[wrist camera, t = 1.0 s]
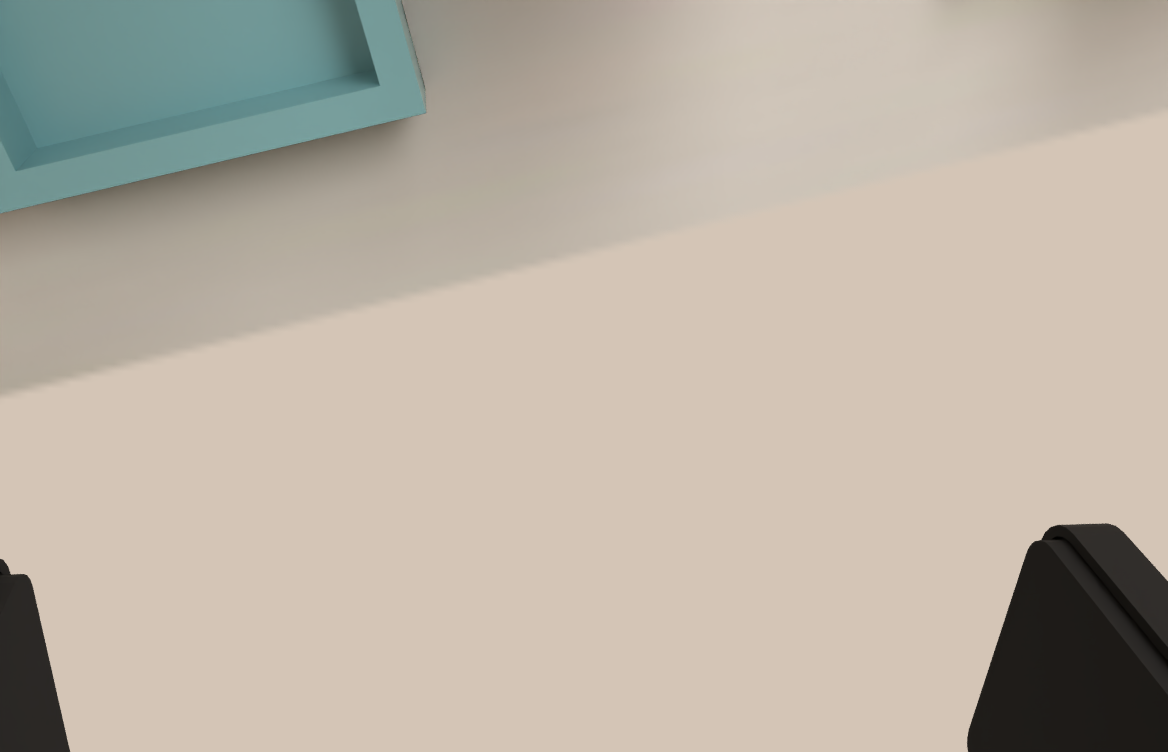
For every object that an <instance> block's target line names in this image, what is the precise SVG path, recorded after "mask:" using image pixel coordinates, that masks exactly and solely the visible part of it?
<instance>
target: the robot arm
mask: <svg viewBox="0 0 1168 752" xmlns="http://www.w3.org/2000/svg"><path fill="white" fill-rule="evenodd" d="M967 747H968V752H1168V581H1167V580H1166V579H1165V578H1164V577H1163V576H1162V574H1161V573H1160V572H1159V571H1158V570H1157V569H1156V568H1155V567H1154V566H1153V564H1151V562H1150V561H1149V560H1148V559H1147V558H1146V557H1145V556H1144V554H1143V553H1142V552H1141V551H1140V550H1139V549H1138V548H1137V547H1136V546H1135V545H1134V543H1133V542H1132V541H1131V540H1130V539H1129V538H1128V537H1127V536H1126V534H1124V532H1123V531H1121V530H1120V529H1119V528H1118V527H1116V526H1114V525H1111V524H1079V525H1078V524H1077V525H1057V526H1053V527H1051V528H1049V530H1047V531H1046V532H1045V534H1044V536H1043V538H1042V540H1040V541H1035V542H1033V543H1032V544H1031V546H1030V547H1029V549H1028V551H1027V554H1026V556H1025V560H1024V562H1023V565H1022V569H1021V572H1020V575H1019V578H1018V581H1017V584H1016V587H1015V590H1014V593H1013V596H1012V599H1011V602H1010V605H1009V608H1008V611H1007V614H1006V618H1005V621H1004V624H1003V627H1002V630H1001V633H1000V636H999V639H998V642H997V645H996V648H995V651H994V655H993V657H992V661H991V663H990V667H989V670H988V673H987V676H986V679H985V682H984V685H983V688H982V691H981V694H980V697H979V700H978V703H977V707H976V709H975V713H974V716H973V719H972V722H971V725H970V728H969V732H968V737H967ZM0 752H70V749H69V745H68V741H67V736H66V732H65V728H64V723H63V719H62V714H61V710H60V706H59V701H58V697H57V692H56V688H55V683H54V679H53V674H52V670H51V666H50V661H49V657H48V653H47V648H46V643H45V639H44V635H43V630H42V626H41V621H40V617H39V612H38V608H37V604H36V599H35V595H34V590H33V586H32V583H31V580H30V579H29V577H28V576H27V575H24V574H16V575H15V574H14V575H11V574H10V571H9V568H8V566H7V564H6V563H5V562H4V560H2V559H0Z"/></svg>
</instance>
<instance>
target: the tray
mask: <svg viewBox="0 0 1168 752" xmlns="http://www.w3.org/2000/svg"><path fill="white" fill-rule="evenodd" d="M424 113H426V96H425V86H424V82H423V79H422V75H421V71H420V68H419V64H418V60H417V57H416V53H415V49H414V46H413V42H412V38H411V35H410V31H409V27H408V24H407V20H406V16H405V13H404V9H403V5H402V2H401V0H0V213H4V212H8V211H13V210H17V209H21V208H25V207H30V206H34V205H38V204H42V203H47V202H51V201H55V200H59V199H64V198H68V197H72V196H76V195H80V194H85V193H89V192H93V191H97V190H102V189H106V188H110V187H114V186H119V185H123V184H127V183H131V182H136V181H140V180H144V179H148V178H153V177H157V176H161V175H165V174H170V173H174V172H178V171H182V170H187V169H191V168H195V167H199V166H204V165H208V164H212V163H216V162H221V161H225V160H229V159H233V158H238V157H242V156H246V155H250V154H255V153H259V152H263V151H267V150H272V149H276V148H280V147H284V146H289V145H293V144H297V143H301V142H306V141H310V140H314V139H318V138H323V137H327V136H331V135H335V134H340V133H344V132H348V131H352V130H356V129H361V128H365V127H369V126H373V125H378V124H382V123H386V122H390V121H395V120H399V119H403V118H407V117H412V116H416V115H420V114H424Z"/></svg>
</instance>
